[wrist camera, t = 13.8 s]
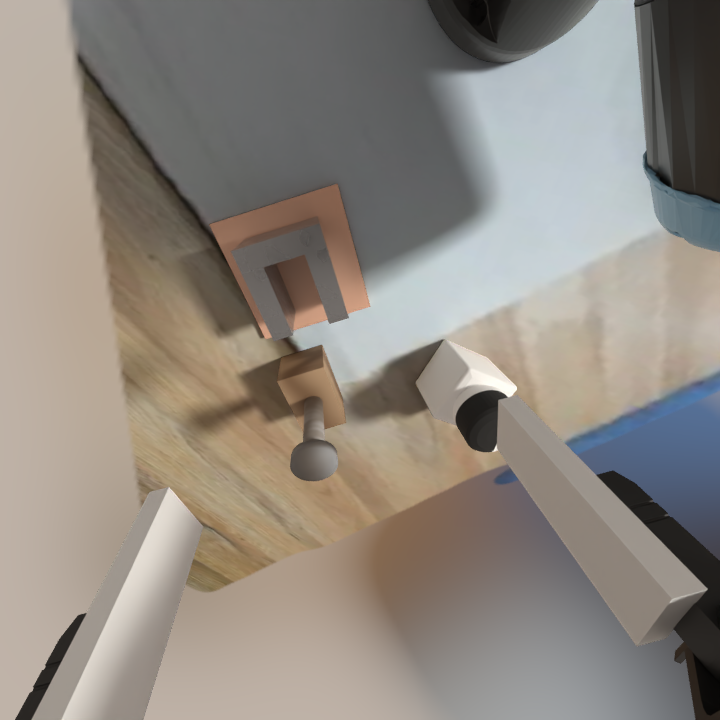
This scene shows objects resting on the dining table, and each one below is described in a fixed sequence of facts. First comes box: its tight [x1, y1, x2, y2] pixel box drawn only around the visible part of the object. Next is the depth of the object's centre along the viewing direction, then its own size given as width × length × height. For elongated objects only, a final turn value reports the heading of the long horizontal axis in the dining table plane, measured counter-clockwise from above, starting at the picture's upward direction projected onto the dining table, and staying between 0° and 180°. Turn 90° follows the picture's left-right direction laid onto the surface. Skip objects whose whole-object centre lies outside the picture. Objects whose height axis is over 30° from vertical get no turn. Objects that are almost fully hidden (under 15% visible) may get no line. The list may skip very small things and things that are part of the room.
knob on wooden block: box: [277, 345, 346, 481], centre depth 32 cm, size 5×8×14 cm, turn 15°
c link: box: [231, 216, 349, 341], centre depth 28 cm, size 8×7×6 cm
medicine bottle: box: [416, 340, 517, 452], centre depth 35 cm, size 7×7×12 cm
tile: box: [209, 184, 370, 339], centre depth 30 cm, size 12×12×1 cm
